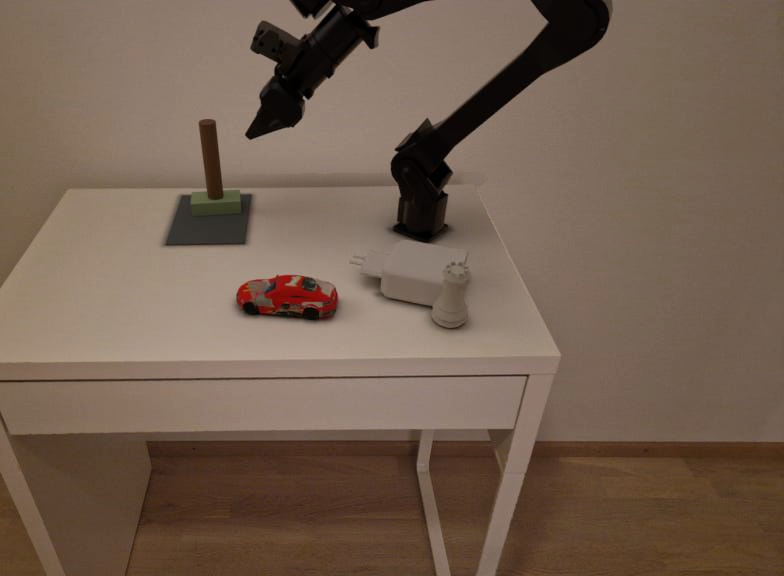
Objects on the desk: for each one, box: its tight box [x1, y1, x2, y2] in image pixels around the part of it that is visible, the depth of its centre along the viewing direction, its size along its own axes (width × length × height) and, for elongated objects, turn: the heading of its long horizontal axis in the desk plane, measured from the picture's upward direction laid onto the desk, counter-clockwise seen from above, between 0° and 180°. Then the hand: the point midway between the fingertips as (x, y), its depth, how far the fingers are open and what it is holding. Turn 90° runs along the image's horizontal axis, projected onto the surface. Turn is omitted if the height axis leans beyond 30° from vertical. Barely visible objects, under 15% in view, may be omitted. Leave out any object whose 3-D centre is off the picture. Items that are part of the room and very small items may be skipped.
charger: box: [348, 239, 469, 307], centre depth 79 cm, size 5×9×15 cm
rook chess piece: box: [430, 261, 471, 329], centre depth 72 cm, size 4×4×8 cm
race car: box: [235, 273, 339, 321], centre depth 76 cm, size 13×5×4 cm, turn 80°
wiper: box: [190, 118, 241, 216], centre depth 94 cm, size 8×4×14 cm, turn 96°
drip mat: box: [164, 193, 252, 246], centre depth 96 cm, size 17×12×1 cm
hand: (253, 126), depth 90 cm, fingers open, 9 cm apart
